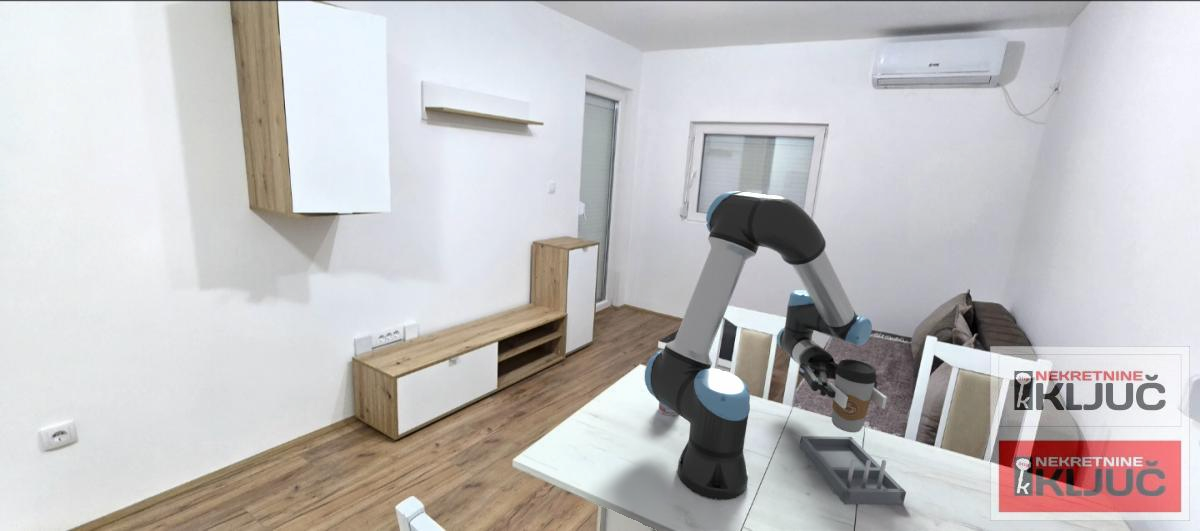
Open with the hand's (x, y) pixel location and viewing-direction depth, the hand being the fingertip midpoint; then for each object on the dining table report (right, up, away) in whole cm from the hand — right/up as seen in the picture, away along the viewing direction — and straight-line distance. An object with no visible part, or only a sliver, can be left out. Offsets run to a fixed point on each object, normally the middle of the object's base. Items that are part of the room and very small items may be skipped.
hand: (864, 402), depth 104 cm
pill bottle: (-39, -11, +28) cm, 49 cm away
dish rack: (-1, -18, +5) cm, 19 cm away
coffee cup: (-1, -7, +7) cm, 10 cm away
